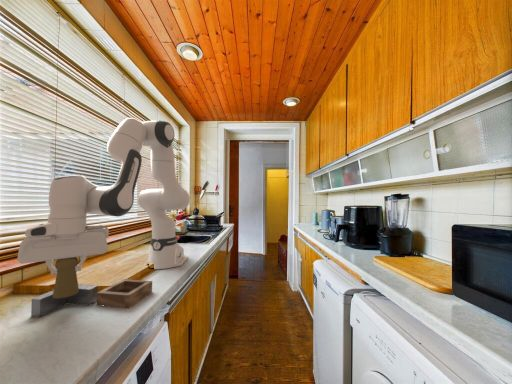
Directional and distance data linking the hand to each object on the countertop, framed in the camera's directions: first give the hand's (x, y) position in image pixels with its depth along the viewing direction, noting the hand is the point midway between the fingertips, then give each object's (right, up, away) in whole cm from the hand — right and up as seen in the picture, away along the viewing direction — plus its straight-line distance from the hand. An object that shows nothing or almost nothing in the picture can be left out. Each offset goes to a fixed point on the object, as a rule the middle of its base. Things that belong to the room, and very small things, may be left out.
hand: (66, 272), depth 65 cm
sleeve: (+13, -12, +8) cm, 19 cm away
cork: (0, -7, 0) cm, 7 cm away
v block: (-3, -12, +3) cm, 12 cm away
